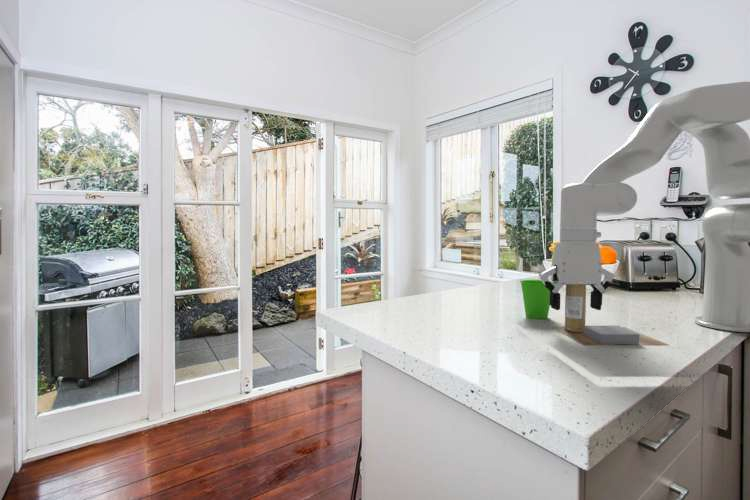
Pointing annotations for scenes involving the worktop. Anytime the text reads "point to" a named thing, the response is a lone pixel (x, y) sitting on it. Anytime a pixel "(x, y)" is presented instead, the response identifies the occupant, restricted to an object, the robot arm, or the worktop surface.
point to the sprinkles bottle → (575, 307)
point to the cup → (535, 299)
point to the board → (588, 341)
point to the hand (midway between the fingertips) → (575, 308)
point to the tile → (611, 334)
